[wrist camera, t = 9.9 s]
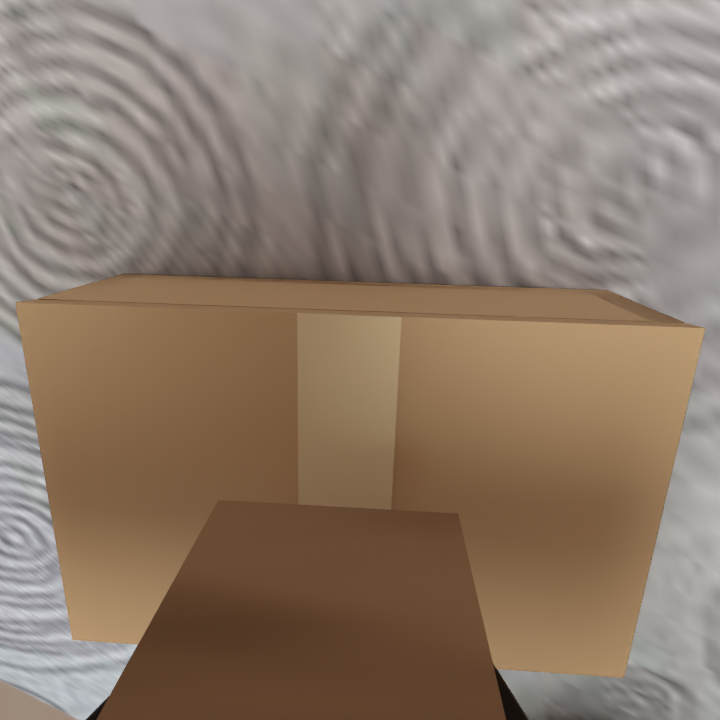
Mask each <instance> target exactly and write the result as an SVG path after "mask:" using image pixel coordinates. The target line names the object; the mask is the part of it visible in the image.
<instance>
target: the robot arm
mask: <svg viewBox="0 0 720 720" xmlns="http://www.w3.org/2000/svg"><path fill="white" fill-rule="evenodd" d="M493 666H494V670H495V674H496V679H497V683H498V687H499V691H500V696H501V700H502V704H503V709H504V713H505V717H506V720H528V718H527V716H526V715H525V713H524V712H523V710H522V708H521V707H520V705H519V704H518V702H517V700H516V699H515V697H514V696H513V694H512V693H511V691H510V689H509V688H508V686H507V685H506V683H505V681H504V680H503V678H502V677H501V675H500V673H499V672H498V670H497V669H496V667H495V665H494V664H493ZM108 698H109V697H108ZM108 698H107V699H106V700H105V701H104V702H103V703H102V704H101V705H100V706H99V707H98V708H97V709H96V710H95V711H94V712H93V713H92V714H91V715H90V716H89V717H88V718H87V719H86V720H97V718H98V716H99V714H100V712H101V711H102V709H103V707H104V705H105V703H106V702H107V700H108Z"/></svg>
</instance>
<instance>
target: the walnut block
mask: <svg viewBox="0 0 720 720" xmlns="http://www.w3.org/2000/svg"><path fill="white" fill-rule="evenodd" d="M97 720H506V717H505V713H504V709H503V704H502V700H501V696H500V691H499V687H498V683H497V679H496V674H495V670H494V666H493V661H492V657H491V653H490V649H489V644H488V640H487V636H486V631H485V627H484V623H483V619H482V614H481V610H480V606H479V601H478V597H477V593H476V589H475V584H474V580H473V576H472V571H471V567H470V563H469V559H468V554H467V550H466V546H465V541H464V537H463V533H462V529H461V524H460V520H459V516H458V514H457V513H439V512H422V511H404V510H386V509H369V508H351V507H333V506H316V505H298V504H280V503H262V502H245V501H227V500H218V501H217V503H216V505H215V507H214V509H213V510H212V512H211V514H210V516H209V518H208V519H207V521H206V523H205V525H204V527H203V528H202V530H201V532H200V534H199V536H198V537H197V539H196V541H195V543H194V545H193V547H192V548H191V550H190V552H189V554H188V556H187V557H186V559H185V561H184V563H183V565H182V566H181V568H180V570H179V572H178V574H177V575H176V577H175V579H174V581H173V583H172V584H171V586H170V588H169V590H168V592H167V593H166V595H165V597H164V599H163V601H162V602H161V604H160V606H159V608H158V610H157V611H156V613H155V615H154V617H153V619H152V620H151V622H150V624H149V626H148V628H147V629H146V631H145V633H144V635H143V637H142V638H141V640H140V642H139V644H138V646H137V647H136V649H135V651H134V653H133V655H132V656H131V658H130V660H129V662H128V664H127V665H126V667H125V669H124V671H123V673H122V674H121V676H120V678H119V680H118V682H117V684H116V685H115V687H114V689H113V691H112V693H111V694H110V696H109V698H108V700H107V702H106V703H105V705H104V707H103V709H102V711H101V712H100V714H99V716H98V718H97Z"/></svg>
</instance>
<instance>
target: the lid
mask: <svg viewBox="0 0 720 720" xmlns="http://www.w3.org/2000/svg"><path fill="white" fill-rule="evenodd" d="M15 303H16V309H17V315H18V321H19V327H20V333H21V339H22V345H23V351H24V356H25V362H26V368H27V374H28V380H29V386H30V392H31V398H32V404H33V410H34V416H35V421H36V427H37V433H38V439H39V445H40V451H41V457H42V463H43V469H44V475H45V480H46V486H47V492H48V498H49V504H50V510H51V516H52V522H53V528H54V534H55V540H56V545H57V551H58V557H59V563H60V569H61V575H62V581H63V587H64V593H65V599H66V604H67V610H68V616H69V622H70V628H71V634H72V640H83V641H97V642H112V643H126V644H139V642H140V640H141V638H142V637H143V635H144V633H145V631H146V629H147V628H148V626H149V624H150V622H151V620H152V619H153V617H154V615H155V613H156V611H157V610H158V608H159V606H160V604H161V602H162V601H163V599H164V597H165V595H166V593H167V592H168V590H169V588H170V586H171V584H172V583H173V581H174V579H175V577H176V575H177V574H178V572H179V570H180V568H181V566H182V565H183V563H184V561H185V559H186V557H187V556H188V554H189V552H190V550H191V548H192V547H193V545H194V543H195V541H196V539H197V537H198V536H199V534H200V532H201V530H202V528H203V527H204V525H205V523H206V521H207V519H208V518H209V516H210V514H211V512H212V510H213V509H214V507H215V505H216V503H217V501H218V500H227V501H245V502H262V503H280V504H298V505H316V506H333V507H351V508H369V509H386V510H404V511H422V512H439V513H457V514H458V516H459V520H460V524H461V529H462V533H463V537H464V541H465V546H466V550H467V554H468V559H469V563H470V567H471V571H472V576H473V580H474V584H475V589H476V593H477V597H478V601H479V606H480V610H481V614H482V619H483V623H484V627H485V631H486V636H487V640H488V644H489V649H490V653H491V657H492V661H493V664H494V665H495V667H496V669H505V670H520V671H534V672H549V673H563V674H578V675H593V676H607V677H622V678H624V675H625V671H626V667H627V663H628V658H629V654H630V650H631V645H632V641H633V637H634V633H635V628H636V624H637V620H638V615H639V611H640V607H641V602H642V598H643V594H644V590H645V585H646V581H647V577H648V572H649V568H650V564H651V560H652V555H653V551H654V547H655V542H656V538H657V534H658V529H659V525H660V521H661V517H662V512H663V508H664V504H665V499H666V495H667V491H668V487H669V482H670V478H671V474H672V469H673V465H674V461H675V456H676V452H677V448H678V444H679V439H680V435H681V431H682V426H683V422H684V418H685V414H686V409H687V405H688V401H689V396H690V392H691V388H692V383H693V379H694V375H695V371H696V366H697V362H698V358H699V353H700V349H701V345H702V341H703V336H704V332H705V328H703V327H699V326H695V325H691V324H685V323H657V322H630V321H603V320H576V319H549V318H522V317H494V316H467V315H440V314H413V313H386V312H358V311H331V310H304V309H277V308H250V307H223V306H195V305H168V304H141V303H114V302H87V301H60V300H29V301H22V302H15Z"/></svg>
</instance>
